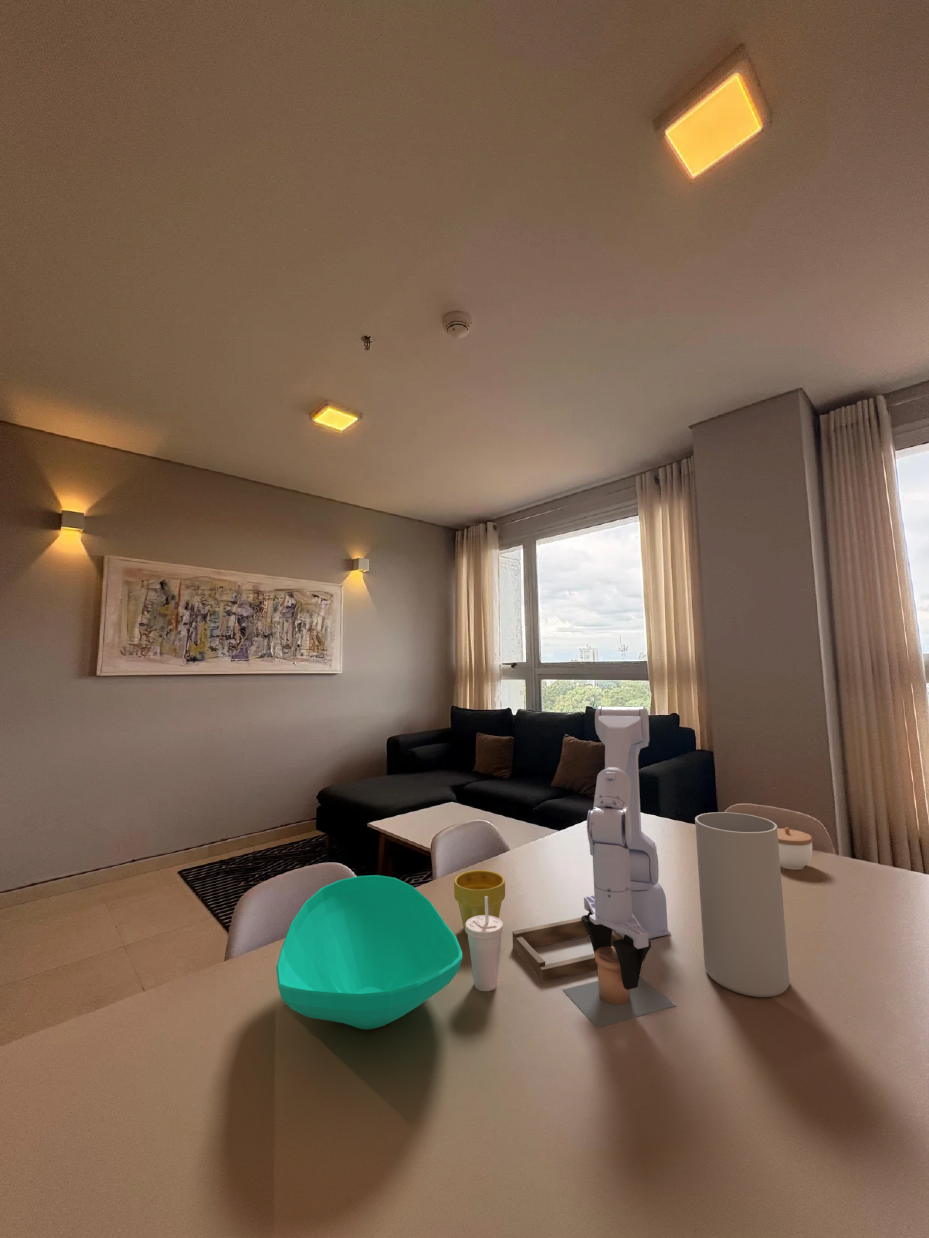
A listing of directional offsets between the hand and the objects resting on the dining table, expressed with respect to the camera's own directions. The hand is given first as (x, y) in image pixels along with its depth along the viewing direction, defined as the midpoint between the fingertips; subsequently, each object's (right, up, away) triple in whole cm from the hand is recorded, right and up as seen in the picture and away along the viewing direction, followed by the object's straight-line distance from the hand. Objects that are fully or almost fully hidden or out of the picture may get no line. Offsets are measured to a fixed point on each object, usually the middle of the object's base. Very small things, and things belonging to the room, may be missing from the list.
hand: (616, 974), depth 85 cm
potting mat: (0, -3, 0) cm, 3 cm away
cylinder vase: (+23, -4, +4) cm, 23 cm away
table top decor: (-38, -4, -2) cm, 39 cm away
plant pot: (-21, -6, +23) cm, 32 cm away
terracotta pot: (0, -3, 0) cm, 3 cm away
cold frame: (-5, -5, +13) cm, 14 cm away
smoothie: (-21, -5, +4) cm, 21 cm away
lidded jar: (+60, -7, +53) cm, 80 cm away
